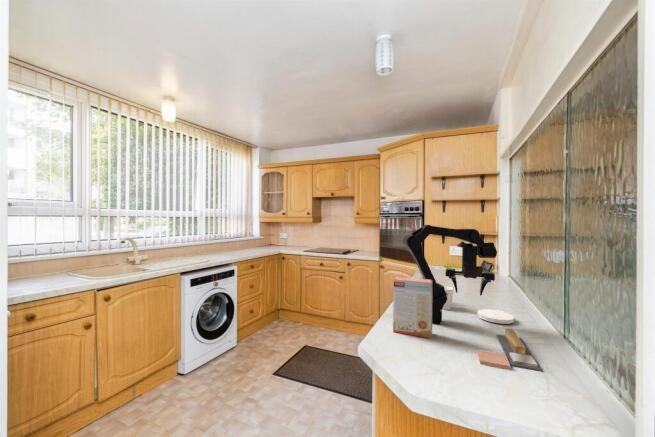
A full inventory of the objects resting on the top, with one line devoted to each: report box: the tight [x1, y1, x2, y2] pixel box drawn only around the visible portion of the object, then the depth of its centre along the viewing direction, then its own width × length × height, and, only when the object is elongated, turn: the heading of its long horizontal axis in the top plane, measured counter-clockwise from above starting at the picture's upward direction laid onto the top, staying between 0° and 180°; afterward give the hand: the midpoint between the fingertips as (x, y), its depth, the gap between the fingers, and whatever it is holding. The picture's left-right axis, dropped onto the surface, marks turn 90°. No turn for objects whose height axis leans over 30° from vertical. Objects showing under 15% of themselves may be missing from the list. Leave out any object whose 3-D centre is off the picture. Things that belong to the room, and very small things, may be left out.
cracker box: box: [392, 276, 433, 339], centre depth 111 cm, size 14×6×21 cm, turn 65°
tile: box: [476, 349, 512, 371], centre depth 90 cm, size 8×2×8 cm
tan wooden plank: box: [504, 328, 537, 367], centre depth 97 cm, size 6×22×3 cm, turn 159°
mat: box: [495, 333, 543, 372], centre depth 97 cm, size 8×24×1 cm, turn 159°
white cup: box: [442, 285, 454, 311], centre depth 142 cm, size 8×8×10 cm
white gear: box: [477, 308, 515, 325], centre depth 127 cm, size 14×14×2 cm
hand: (468, 294), depth 123 cm, fingers open, 9 cm apart
